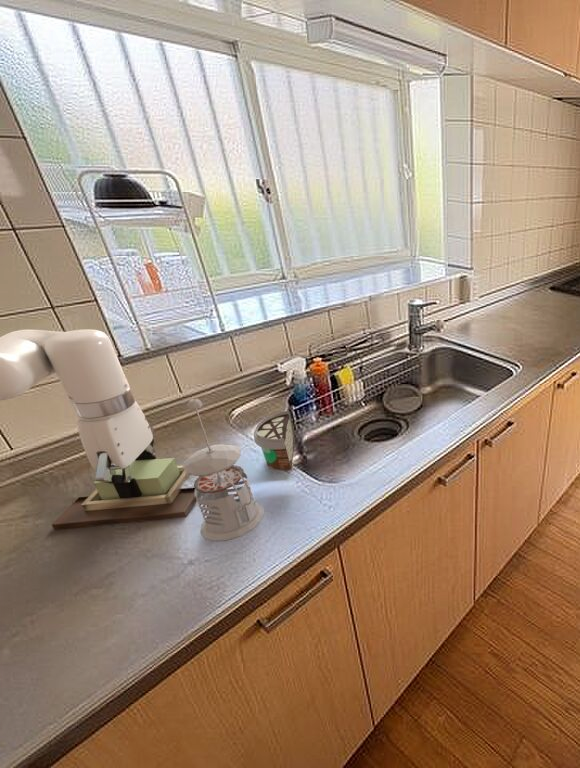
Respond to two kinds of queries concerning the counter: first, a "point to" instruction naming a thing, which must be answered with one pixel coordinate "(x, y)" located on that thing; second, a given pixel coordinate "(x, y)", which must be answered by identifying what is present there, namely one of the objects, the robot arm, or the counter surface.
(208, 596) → the counter surface
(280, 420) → the food container
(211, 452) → the french press
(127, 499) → the back board
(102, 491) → the green rectangular block
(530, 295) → the counter surface
